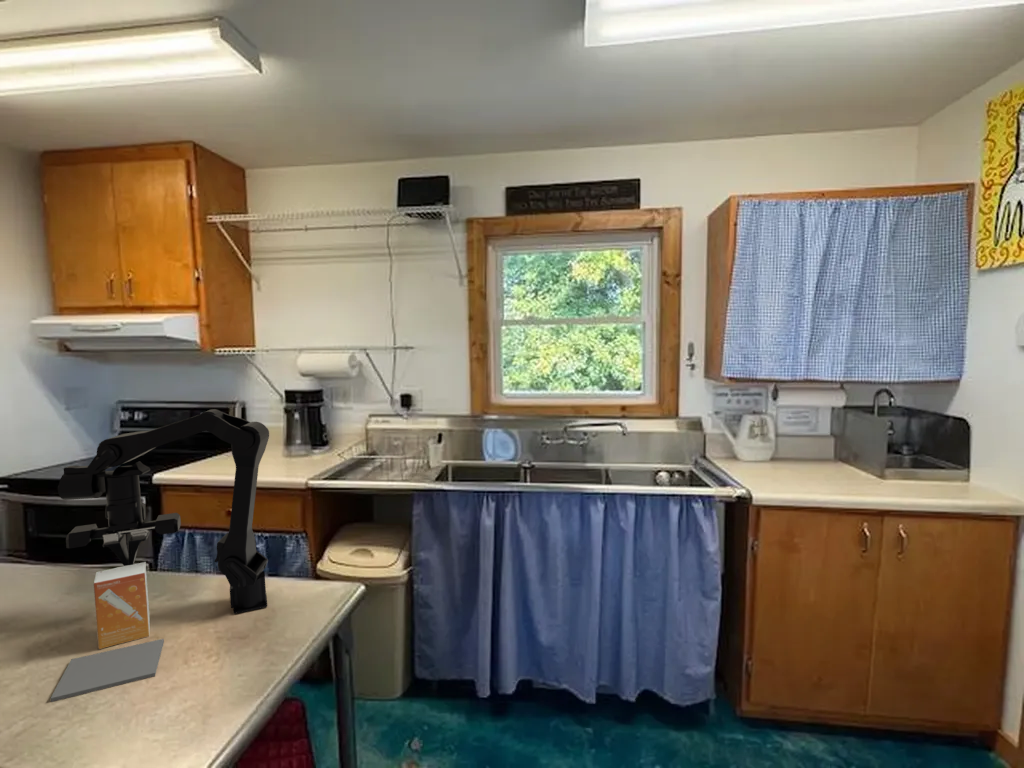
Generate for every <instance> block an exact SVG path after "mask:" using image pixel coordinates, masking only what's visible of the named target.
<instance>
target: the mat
mask: <svg viewBox="0 0 1024 768" xmlns="http://www.w3.org/2000/svg"><path fill="white" fill-rule="evenodd" d="M164 643H165V639H164V638H161V639H155V640H151V641H147V642H142V643H138V644H133V645H130V646H123V647H119V648H115V649H110V650H106V651H103V652H98V653H93V654H89V655H84V656H80V657H76V658H72V659H70V660H69V663H68V665H67V667H66V669H65V670H64V672H63V674H62V676H61V678H60V680H59V681H58V683H57V685H56V687H55V689H54V690H53V693H52V695H51V697H50V703H52V702H56V701H60V700H65V699H68V698H73V697H77V696H81V695H85V694H88V693H92V692H97V691H101V690H104V689H108V688H112V687H116V686H120V685H121V686H122V685H125V684H129V683H132V682H133V683H134V682H137V681H141V680H145V679H148V678H152V677H156V674H157V669H158V665H159V662H160V657H161V654H162V651H163V647H164Z"/></svg>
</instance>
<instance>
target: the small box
mask: <svg viewBox="0 0 1024 768" xmlns="http://www.w3.org/2000/svg"><path fill="white" fill-rule="evenodd" d="M147 579H148V577H147V562H146V561H142V562H140V563H139V562H138V563H134V564H133V565H127V566H124V565H122V566H118V567H113V568H109V569H105V570H99V571H96V572H95V577H94V581H93V595H94V606H95V620H96V622H95V623H96V624H95V625H96V633H97V634H96V635H97V636H96V637H97V644H98V649H99V650H101V649H104V648H108V647H111V646H116V645H120V644H123V643H124V644H125V643H128V642H131V641H135V640H140V639H144V638H149V637H150V634H151V633H150V632H151V631H150V630H151V629H150V623H151V620H150V605H149V592H148V589H149V588H148V580H147Z"/></svg>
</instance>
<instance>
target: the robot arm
mask: <svg viewBox="0 0 1024 768" xmlns="http://www.w3.org/2000/svg"><path fill="white" fill-rule="evenodd" d="M205 432H208V433H211V434H212V435H213V436H216V438H218V439H219V440H221V441H223V442H225V443H227V444H229V445H230V446H231V455H232V458H233V461H234V465H235V472H234V473H235V474H234V484H233V491H232V492H233V494H232V501H231V511H230V519H229V521H230V522H229V529H228V532H227V533H226V534H225V535H223V536H222V537H221V539H220V540H218V542H216V553H217V554H216V557H215V559H214V563H217V568H218V571H219V572H220V573H222V575H224V576H225V578H226V580H227V583H228V584H229V599H230V600H229V601H230V602H229V603H230V608H231V609H232V611H233V614H234V615H236V614H241V613H245V612H250V611H254V610H255V611H256V610H259V609H264V608H265V609H266V608H267V607H268V596H267V591H266V590H267V589H266V588H267V587H266V574H265V571H264V570H265V569H266V567H267V564H268V562H269V559H268V558H267V557H266V556H264V555H263V554H262V553H261V552H259V551H258V550H257V545H256V543H257V542H256V537H255V535H254V532H253V520H254V512H255V511H254V510H255V502H256V495H257V485H258V475H259V467H260V463H261V460H262V458H263V456H264V453H265V451H266V448H267V444H268V441H269V438H270V431H269V429H268V427H267V426H266V424H264V423H262V422H259V421H249V420H247V419H244V418H242V417H238V416H234V415H230V414H228V413H225V412H224V411H221V410H219V409H215V408H214V409H213V408H212V409H209V410H207V411H204V412H202V413H200V414H197V415H194V416H192V417H188V418H186V419H182V420H179V421H175V422H173V423H170V424H167V425H163V426H161V427H158V428H155V429H154V428H153V429H150V430H141V431H140V430H139V431H135V432H133V431H132V432H129V433H127V432H126V433H121V434H118V435H115V436H112V437H110V438H106V439H104V440H102V441H100V442H99V443H98V445H97V448H96V455H95V456H94V457H93V459H92V460H91V461H90V463H89V465H75V464H74V465H69V466H67V467H66V466H65V467H64V468H63V474H62V475H61V477H60V479H59V482H58V486H57V492H58V496H59V497H60V499H62V500H64V501H70V500H71V501H74V500H75V501H76V500H87V499H88V500H89V499H90V500H91V499H99V498H100V497H101V496H103V494H104V493H105V499H106V503H105V511H104V515H105V516H104V517H105V519H107V522H108V524H107V525H108V526H106V527H105V526H104V527H101V528H99V527H98V526H97V523H92V524H85V525H77V526H75V527H74V528H73V529H72V530H71V531H70V532H69V533H68V534H67V535H66V537H65V546H66V547H65V548H66V549H74V548H75V549H76V548H81V547H86V546H87V545H88V544H90V542H91V541H92V540H95V539H101V538H102V539H103V543H102V547H103V548H108V549H110V550H111V551H112V553H114V554H115V556H116V557H117V558H118V560H119V561H120V562H121V564H122V566H127V565H133V564H135V560H136V557H137V554H138V551H139V547H140V545H141V543H142V542H145V541H147V540H148V538H149V536H150V534H151V532H150V531H154V530H155V533H157V534H158V535H160V536H161V535H169V534H174V533H177V532H179V530H180V528H181V525H182V522H181V521H182V520H181V515H180V514H179V513H178V512H172V513H165V514H159V515H158V516H157V518H156V519H155V520H151V521H149V520H148V521H145V520H146V516H147V515H146V514H147V513H146V512H147V511H146V503H143V502H142V498H141V497H142V495H141V487H140V485H141V484H140V476H141V475H144V474H147V473H148V472H150V471H151V468H150V467H149V466H147V465H145V464H144V463H142V462H141V461H137V462H135V463H133V464H132V465H123V464H126V463H128V462H131V461H133V460H135V459H137V458H139V457H141V456H144V455H145V454H147V453H148V452H150V451H152V450H154V449H156V448H158V447H161V446H164V445H167V444H171V443H173V442H176V441H179V440H182V439H185V438H188V437H191V436H194V435H197V434H201V433H205ZM113 467H114V468H115V469H114V470H108V469H111V468H113ZM127 534H128V535H129V534H130V538H129V540H128V546H127V536H126V535H127Z"/></svg>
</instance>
